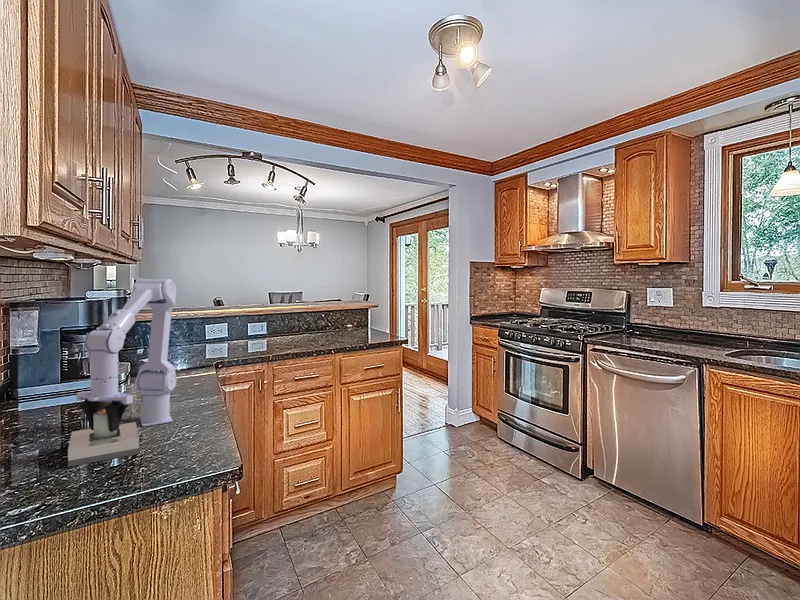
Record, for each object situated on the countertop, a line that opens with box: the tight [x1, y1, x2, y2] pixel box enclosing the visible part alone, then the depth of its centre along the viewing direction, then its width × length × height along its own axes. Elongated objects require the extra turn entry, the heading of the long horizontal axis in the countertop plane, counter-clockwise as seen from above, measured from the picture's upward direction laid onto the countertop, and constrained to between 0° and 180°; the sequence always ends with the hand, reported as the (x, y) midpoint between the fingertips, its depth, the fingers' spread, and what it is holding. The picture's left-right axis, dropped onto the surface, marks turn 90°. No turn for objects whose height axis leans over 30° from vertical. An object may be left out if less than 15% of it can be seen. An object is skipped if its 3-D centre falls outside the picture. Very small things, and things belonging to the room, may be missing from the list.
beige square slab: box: [67, 421, 140, 468], centre depth 105 cm, size 14×14×4 cm
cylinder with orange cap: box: [93, 409, 117, 440], centre depth 105 cm, size 5×5×7 cm
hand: (104, 429), depth 105 cm, fingers closed on cylinder with orange cap, 5 cm apart
